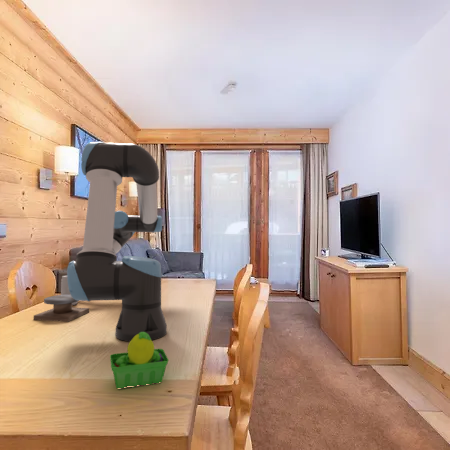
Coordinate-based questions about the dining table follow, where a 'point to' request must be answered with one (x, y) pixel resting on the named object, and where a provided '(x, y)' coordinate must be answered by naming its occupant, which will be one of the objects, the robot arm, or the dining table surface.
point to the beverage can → (65, 288)
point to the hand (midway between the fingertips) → (74, 287)
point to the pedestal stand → (61, 309)
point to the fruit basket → (139, 363)
